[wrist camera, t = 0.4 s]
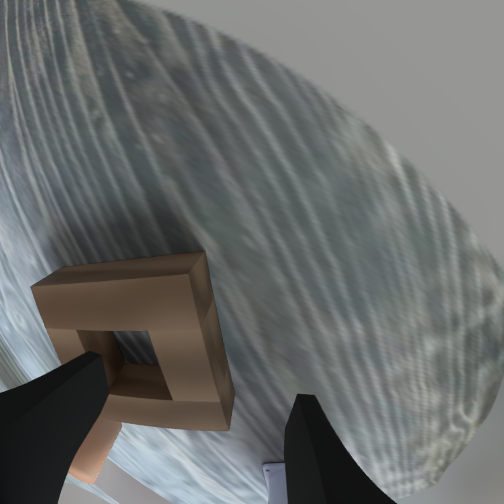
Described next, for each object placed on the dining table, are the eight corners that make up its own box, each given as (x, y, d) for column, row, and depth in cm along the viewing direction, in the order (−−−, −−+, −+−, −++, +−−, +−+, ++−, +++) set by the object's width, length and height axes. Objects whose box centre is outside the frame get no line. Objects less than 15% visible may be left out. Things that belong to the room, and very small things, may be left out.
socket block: (234, 394, 21) (229, 431, 18) (109, 388, 23) (91, 416, 19) (205, 250, 18) (188, 273, 14) (61, 267, 19) (30, 286, 15)
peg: (127, 433, 25) (101, 488, 17) (98, 427, 25) (71, 477, 17) (112, 408, 24) (80, 465, 16) (83, 403, 24) (49, 454, 16)
